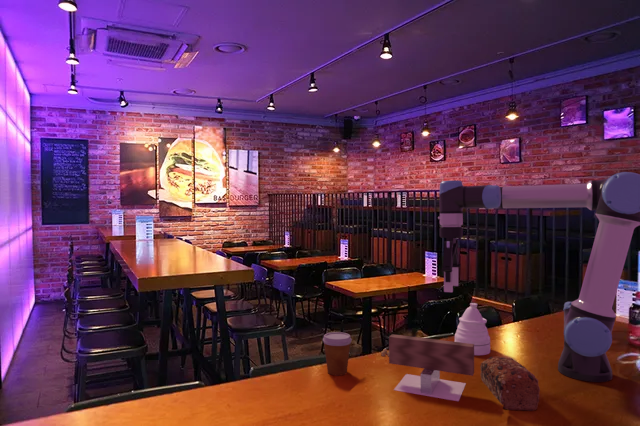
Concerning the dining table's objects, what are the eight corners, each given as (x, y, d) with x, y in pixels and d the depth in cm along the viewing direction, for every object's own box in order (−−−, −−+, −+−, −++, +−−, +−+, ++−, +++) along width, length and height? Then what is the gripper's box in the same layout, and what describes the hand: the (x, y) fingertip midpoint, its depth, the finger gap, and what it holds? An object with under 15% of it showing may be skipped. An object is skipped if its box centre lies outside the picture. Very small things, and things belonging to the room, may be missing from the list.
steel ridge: (439, 380, 135) (439, 362, 135) (431, 394, 124) (431, 375, 124) (429, 378, 136) (429, 360, 136) (420, 393, 126) (420, 373, 126)
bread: (540, 412, 117) (540, 374, 117) (498, 411, 118) (498, 373, 118) (514, 385, 136) (514, 352, 136) (479, 384, 137) (479, 351, 137)
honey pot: (495, 355, 164) (495, 306, 164) (460, 355, 164) (460, 306, 164) (483, 345, 176) (483, 299, 176) (450, 344, 177) (450, 299, 177)
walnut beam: (474, 372, 127) (474, 344, 127) (472, 375, 124) (472, 346, 124) (392, 360, 137) (391, 334, 137) (389, 363, 134) (389, 336, 134)
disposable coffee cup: (355, 369, 149) (355, 333, 149) (345, 379, 140) (345, 341, 140) (329, 365, 153) (329, 330, 153) (317, 374, 144) (317, 337, 144)
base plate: (465, 388, 133) (465, 383, 133) (458, 406, 120) (458, 401, 120) (406, 378, 141) (406, 373, 141) (393, 395, 128) (393, 389, 128)
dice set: (391, 360, 160) (391, 354, 160) (378, 357, 163) (378, 352, 163) (397, 356, 165) (397, 351, 165) (384, 354, 167) (384, 348, 167)
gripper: (445, 225, 164) (445, 282, 164) (433, 227, 142) (433, 294, 142) (466, 225, 161) (467, 284, 161) (457, 227, 139) (458, 295, 139)
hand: (451, 288), depth 152 cm, fingers open, 13 cm apart
